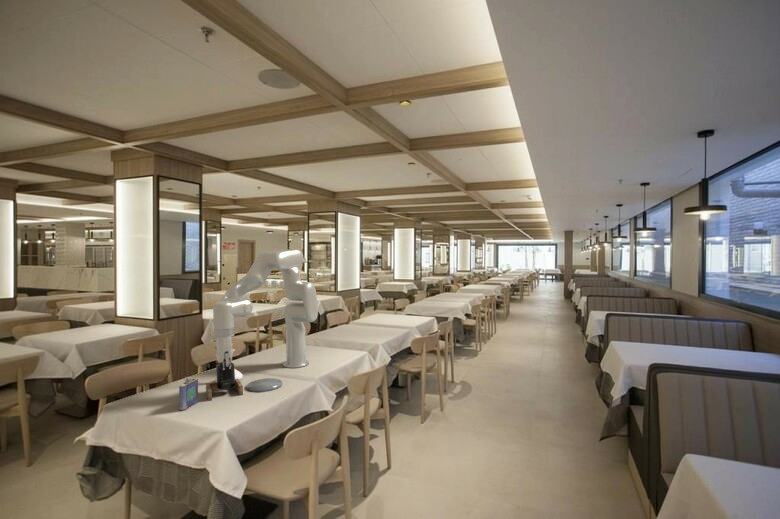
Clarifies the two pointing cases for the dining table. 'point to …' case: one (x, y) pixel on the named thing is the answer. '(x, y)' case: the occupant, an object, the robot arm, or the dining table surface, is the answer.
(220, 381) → the supplement bottle
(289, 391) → the dining table surface
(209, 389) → the brown wooden arch piece
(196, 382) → the flask
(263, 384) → the plate
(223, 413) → the dining table surface
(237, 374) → the flower in vase
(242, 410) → the dining table surface
